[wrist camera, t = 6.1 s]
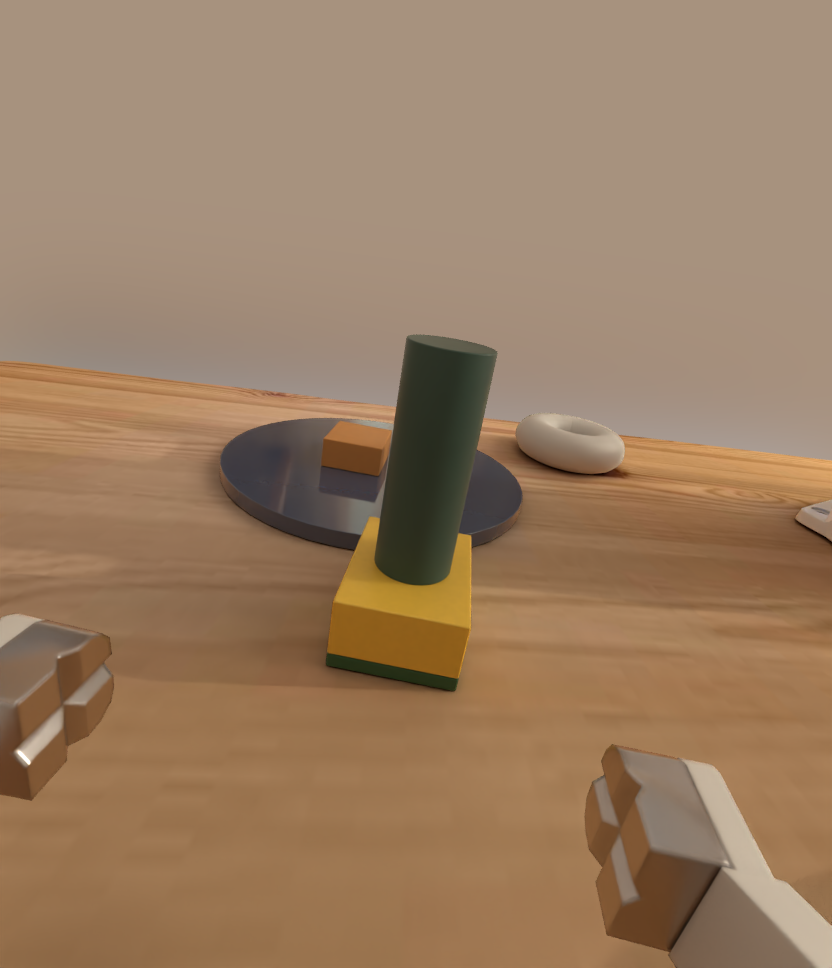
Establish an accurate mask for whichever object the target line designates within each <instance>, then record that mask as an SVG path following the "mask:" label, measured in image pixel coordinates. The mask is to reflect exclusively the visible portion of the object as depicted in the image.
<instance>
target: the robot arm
mask: <svg viewBox="0 0 832 968" xmlns="http://www.w3.org/2000/svg"><path fill="white" fill-rule="evenodd" d="M795 519H796V520H797V521H799V522H800V523H802V524H803V525H805V526H807V527H809V528H810V529H812V530H814V531H816V532H818V533H820V534H821V535H823V536H825V537H826V538H828V539H829V540H830V541H832V500H828V501H825V502H821V503H817V504H814V505H810V506H807V507H803V508H801V510H800V511H799V513H798V514H797V515H796V517H795ZM111 654H112V651H111V642H110V637H108V636H106V635H104V634H102V633H99V632H95V631H91V630H87V629H82V628H78V627H74V626H70V625H66V624H62V623H58V622H54V621H50V620H43V619H39V618H35V617H31V616H27V615H23V614H19V613H15V614H11V615H6V616H3V617H2V618H0V794H1V795H6V796H11V797H16V798H21V799H26V800H31V801H32V800H33V798H34V797H35V796H36V795H37V794H38V793H39V792H40V790H41V789H42V788H43V787H44V786H45V785H46V784H47V782H48V781H49V780H50V779H51V778H52V777H53V776H54V775H55V773H56V772H57V771H58V770H59V769H60V768H61V767H62V765H63V764H64V763H65V762H66V761H67V752H68V746H69V745H71V744H73V743H75V742H77V741H79V740H81V739H83V738H85V737H87V736H89V735H90V733H91V732H92V731H93V730H94V729H95V727H96V726H97V725H98V724H99V723H100V721H101V720H102V718H103V716H104V714H105V712H106V710H107V708H108V706H109V705H110V703H111V699H112V694H113V689H114V679H113V674H112V673H111V672H110V670H109V669H108V668H107V666H106V665H105V664H104V662H105V661H106V659H107V658H108V657H109V656H110V655H111ZM601 763H602V767H603V771H604V775H603V776H601V777H600V778H598V779H596V780H594V781H593V782H592V784H591V787H590V790H589V792H588V795H587V799H586V808H585V829H586V836H587V842H588V847H589V850H590V852H591V853H592V854H593V856H594V857H595V858H596V860H597V861H598V862H599V864H600V865H601V866H602V869H601V871H600V874H599V876H598V878H597V880H596V886H597V891H598V896H599V901H600V906H601V910H602V915H603V920H604V925H605V929H606V934H607V935H608V936H611V937H615V938H619V939H623V940H626V941H630V942H634V943H638V944H641V945H645V946H649V947H653V948H656V949H660V950H664V951H668V952H670V953H669V955H668V956H669V957H670V959H671V960H672V962H673V963H674V965H675V967H676V968H832V926H831V925H830V924H829V923H828V922H827V921H826V920H825V919H824V918H823V917H822V916H821V915H820V914H819V913H818V912H817V911H816V910H815V909H814V908H813V907H812V906H811V905H810V904H809V903H808V902H806V901H805V900H804V899H803V898H802V897H801V896H800V895H799V894H798V893H797V892H796V891H795V890H794V889H793V888H792V887H791V886H790V885H789V884H788V883H787V882H786V881H782V880H778V879H774V877H773V875H772V873H771V871H770V869H769V867H768V865H767V863H766V861H765V859H764V857H763V855H762V853H761V851H760V850H759V848H758V846H757V844H756V842H755V840H754V838H753V836H752V834H751V832H750V830H749V828H748V826H747V824H746V822H745V820H744V818H743V817H742V815H741V813H740V811H739V809H738V807H737V805H736V803H735V801H734V799H733V797H732V795H731V793H730V791H729V789H728V787H727V786H726V784H725V782H724V780H723V778H722V776H721V774H720V772H719V771H718V770H717V769H716V768H715V767H714V766H713V765H711V764H707V763H702V762H697V761H692V760H687V759H682V758H675V757H672V756H667V755H662V754H657V753H653V752H648V751H643V750H638V749H633V748H629V747H624V746H619V745H614V744H612V745H611V746H610V747H609V748H607V749H606V751H605V753H604V756H603V758H602V760H601Z"/></svg>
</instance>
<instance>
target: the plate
mask: <svg viewBox="0 0 832 968" xmlns="http://www.w3.org/2000/svg"><path fill="white" fill-rule="evenodd" d="M339 421H344V422H349V423H355V424H360V425H366V426H371V427H377V428H382V429H387V430H392V434H393V427H394V424H390V423H383V422H376V421H368V420H358V419H342V418H312V419H298V420H290V421H282V422H277V423H271V424H267V425H264V426H260V427H257V428H254V429H251V430H248V431H246V432H244V433H242V434H240V435H238V436H237V437H235V438H234V439H233V440H231V441H230V442H229V443H228V444H227V445H226V446H225V447H224V449H223V451H222V454H221V456H220V479H221V483H222V486H223V488H224V489H225V491H226V493H227V494H228V496H229V497H230V498H231V499H232V500H233V501H234V502H235V503H236V504H237V505H238V506H239V507H241V508H242V509H243V510H245V511H246V512H247V513H249V514H250V515H252V516H254V517H255V518H257V519H259V520H261V521H262V522H264V523H266V524H268V525H270V526H273V527H275V528H277V529H280V530H282V531H284V532H287V533H290V534H292V535H295V536H298V537H301V538H304V539H307V540H311V541H315V542H319V543H323V544H327V545H331V546H335V547H341V548H346V549H352V550H355V549H356V547H357V544H358V542H359V540H360V537H361V535H362V533H363V530H364V528H365V526H366V523H367V521H368V519H369V517H376V518H380V516H381V509H382V502H383V495H384V488H385V482H386V475H387V468H388V461H389V455H388V457H387V459H386V461H385V464H384V466H383V468H382V470H381V472H380V474H379V476H374V475H368V474H363V473H358V472H352V471H347V470H342V469H336V468H331V467H326V466H321V460H322V449H323V439H324V437H325V436H326V435H327V434H328V433H329V432H330V431H331V430H332V429H333V428H334V427H335V425H336V424H337V423H338V422H339ZM391 441H392V436H391ZM390 448H391V442H390ZM389 454H390V449H389ZM521 504H522V491H521V487H520V485H519V483H518V481H517V480H516V478H515V477H514V476H513V475H512V474H511V473H510V471H508V470H507V469H506V468H505V467H504V466H503V465H501V464H500V463H499V462H497V461H496V460H494V459H493V458H491V457H489V456H488V455H486V454H484V453H482V452H480V451H478V450H476V454H475V459H474V464H473V468H472V473H471V477H470V482H469V487H468V491H467V496H466V500H465V505H464V510H463V514H462V519H461V523H460V528H459V533H460V534H465V535H470V536H471V547H474V546H477V545H480V544H483V543H486V542H489V541H491V540H493V539H495V538H497V537H499V536H501V535H502V534H503V533H505V532H506V531H507V530H509V529H510V528H511V526H512V525H513V524H514V523H515V521H516V519H517V517H518V515H519V511H520V508H521Z"/></svg>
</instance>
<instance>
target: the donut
mask: <svg viewBox="0 0 832 968" xmlns="http://www.w3.org/2000/svg"><path fill="white" fill-rule="evenodd" d="M516 439H517V443H518V446H519V447H520V449H521V450H522V451H523V452H525V453H526V454H527V455H528V456H530V457H531V458H533V459H535V460H537V461H538V462H540V463H543V464H546V465H548V466H551V467H554V468H557V469H561V470H565V471H570V472H575V473H583V474H597V473H606V472H608V471H610V470H612V469H614V468H616V467H618V466H619V465H620V464H621V462H622V460H623V459H624V453H625V446H624V442H623V441H622V439H621V438H620V437H619V436H618V435H617V434H616V433H615V432H613V431H612V430H610V429H609V428H607V427H605V426H602V425H600V424H598V423H595V422H592V421H589V420H585V419H582V418H577V417H573V416H568V415H563V414H554V413H538V414H533V415H529V416H527V417H526V418H524V419H523V420H522V421H521V422H520V424H519V425H518V426H517V429H516Z"/></svg>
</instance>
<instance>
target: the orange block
mask: <svg viewBox="0 0 832 968" xmlns="http://www.w3.org/2000/svg"><path fill="white" fill-rule="evenodd" d="M391 436H392V430H387V429H382V428H377V427H371V426H366V425H360V424H355V423H349V422H344V421H339V422H338V423H337V424H336V425H335V427H334V428H333V429H332V430H331V431H330V432H329V433H328V434H327V435H326V436H325V437H324V439H323V449H322V460H321V466H326V467H331V468H336V469H342V470H347V471H352V472H358V473H363V474H368V475H374V476H379V474H380V472H381V470H382V468H383V466H384V464H385V461H386V459H387V457H388V455H389V449H390V442H391Z"/></svg>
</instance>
